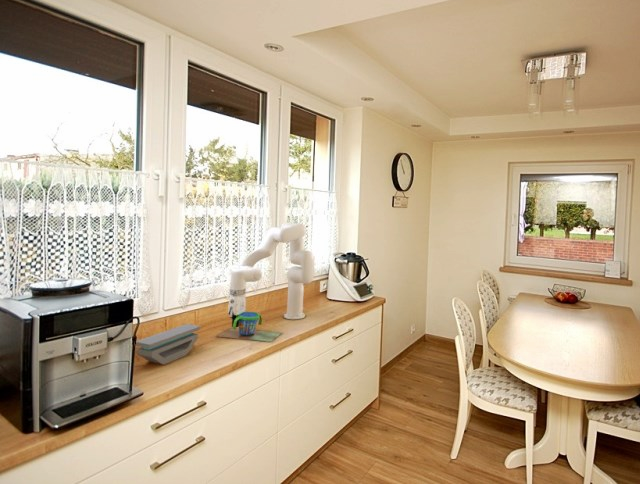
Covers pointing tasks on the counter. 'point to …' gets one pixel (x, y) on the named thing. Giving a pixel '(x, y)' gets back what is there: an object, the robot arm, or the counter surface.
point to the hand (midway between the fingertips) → (235, 326)
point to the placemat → (256, 336)
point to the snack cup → (247, 322)
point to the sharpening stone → (168, 344)
